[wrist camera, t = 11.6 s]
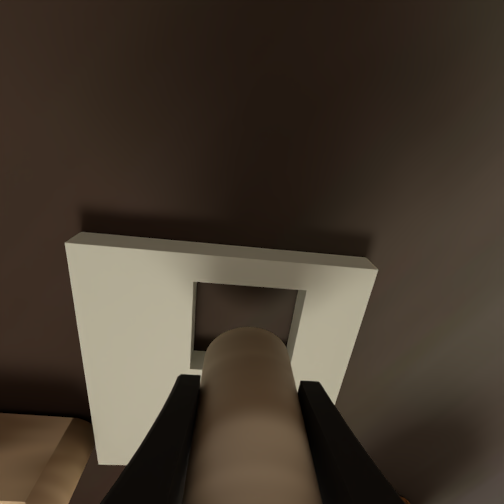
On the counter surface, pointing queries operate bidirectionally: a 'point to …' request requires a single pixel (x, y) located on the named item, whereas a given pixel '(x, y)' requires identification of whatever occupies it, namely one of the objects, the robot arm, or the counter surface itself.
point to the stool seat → (183, 320)
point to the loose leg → (249, 426)
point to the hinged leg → (42, 457)
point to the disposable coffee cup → (405, 500)
